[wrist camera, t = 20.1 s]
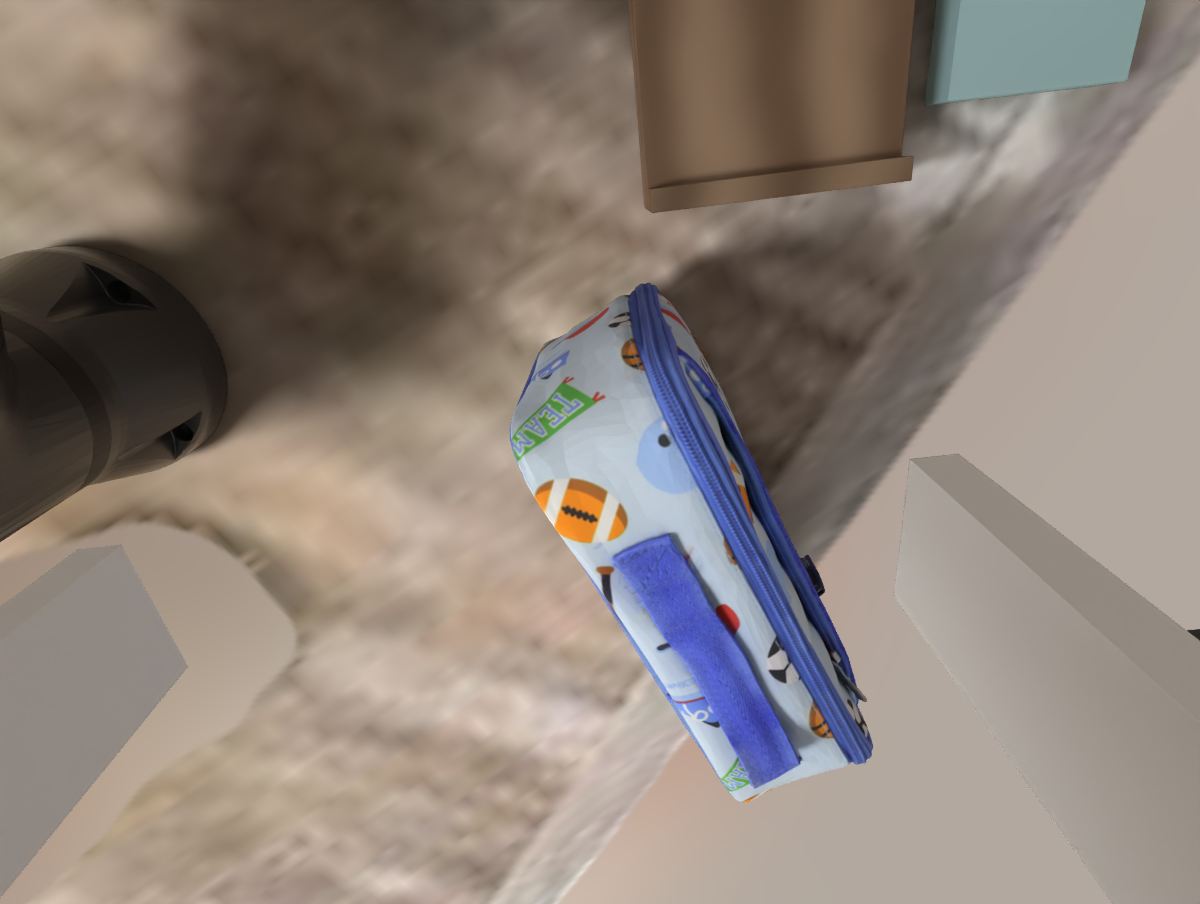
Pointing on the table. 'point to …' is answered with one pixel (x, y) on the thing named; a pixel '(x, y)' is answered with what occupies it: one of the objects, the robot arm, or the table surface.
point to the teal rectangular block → (1029, 46)
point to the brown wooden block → (769, 97)
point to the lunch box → (688, 544)
